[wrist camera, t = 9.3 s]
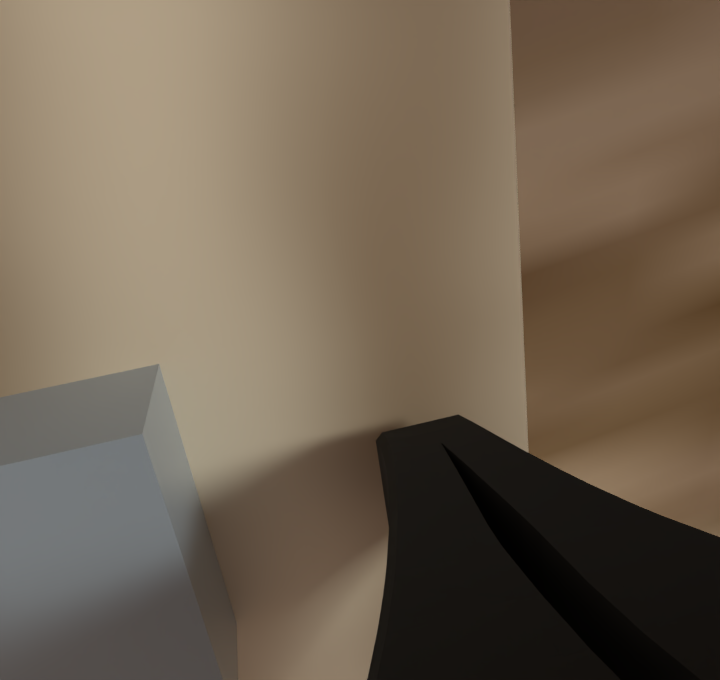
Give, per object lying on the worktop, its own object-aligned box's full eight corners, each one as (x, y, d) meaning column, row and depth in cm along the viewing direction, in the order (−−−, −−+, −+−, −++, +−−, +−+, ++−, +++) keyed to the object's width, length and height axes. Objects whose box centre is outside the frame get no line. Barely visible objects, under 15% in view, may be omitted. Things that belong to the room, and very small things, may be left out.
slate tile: (159, 363, 9) (142, 433, 7) (236, 622, 11) (240, 730, 9) (-230, 445, 8) (-364, 548, 6) (-71, 705, 10) (-138, 843, 8)
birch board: (429, -47, 10) (505, -100, 7) (497, 763, 18) (546, 879, 16) (-734, 104, 8) (-1227, 105, 5) (-71, 947, 16) (-130, 1119, 13)
